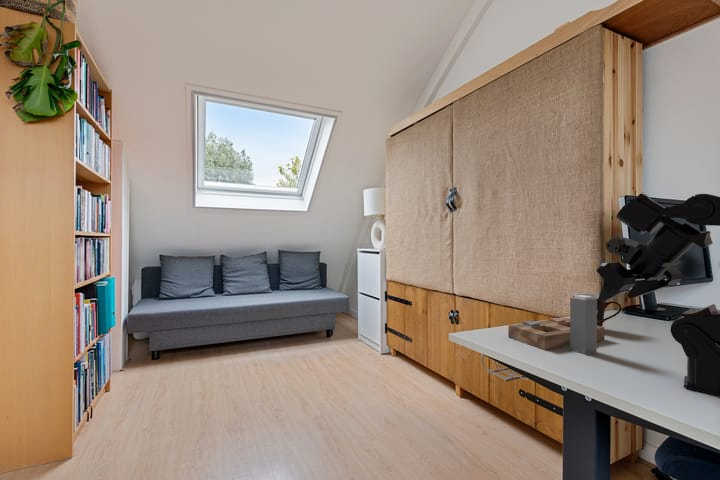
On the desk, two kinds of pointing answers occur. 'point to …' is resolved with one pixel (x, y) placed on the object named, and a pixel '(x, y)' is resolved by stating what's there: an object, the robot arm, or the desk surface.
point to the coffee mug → (601, 309)
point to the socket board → (546, 333)
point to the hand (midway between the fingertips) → (614, 298)
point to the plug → (583, 324)
